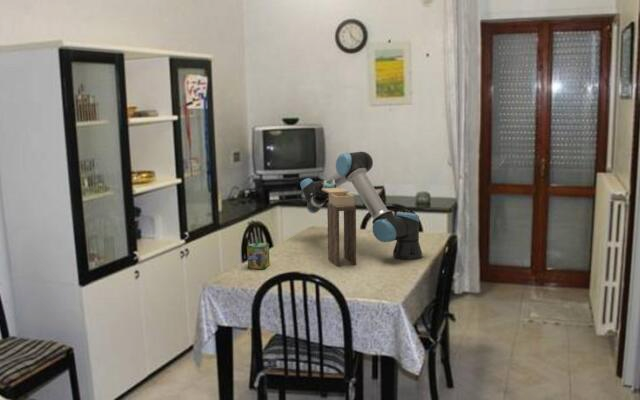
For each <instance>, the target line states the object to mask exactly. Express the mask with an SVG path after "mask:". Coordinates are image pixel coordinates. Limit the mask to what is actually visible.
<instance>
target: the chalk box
mask: <svg viewBox="0 0 640 400" xmlns="http://www.w3.org/2000/svg"><path fill="white" fill-rule="evenodd" d="M246 251H247V252H246V253H247V256H246V257H247V269H248V270H266V269H267V268H268V267H269V266H270V264H271V263H270V260H271V259H270V244H269V242H268V243H267V242H260V241H259V238H258V237H256V238H254V242H252V243H250V244H248V245H247V246H246Z"/></svg>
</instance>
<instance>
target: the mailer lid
mask: <svg viewBox="0 0 640 400" xmlns="http://www.w3.org/2000/svg"><path fill="white" fill-rule="evenodd" d="M326 184H327V185H326V187H325V188H323V189H322V191H325V192H327V193H329V194H336V193H349V190H347V189H345V188H342V187H337V188H335V186H334V185H332V184H329V183H326ZM349 194H350V193H349Z"/></svg>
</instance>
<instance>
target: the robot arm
mask: <svg viewBox="0 0 640 400" xmlns="http://www.w3.org/2000/svg"><path fill="white" fill-rule="evenodd" d="M373 165H374V160H373V158H372V156H371V155H370V154H369V153H368V152H366V151H357V152H345V153H342V154H341V153H340V154H339V155H338V157H337V159H336V160H335V170H336V172H335V173H333V174H332V175H330V176H328V177H326V178H325V179H324V180H320V181H314V180H313V179H312V178H310V177H309V178H308V177H307V178H305V179H303V180H301V181H300V184H299V185H300V188H301V191H302V193H303V196H304V197H305V201H306V203H307V205H306V209H307V211H308V212H309V213H311V214H316V213H318V212H319V211H320V210H321V209H322V206H324V204H325V202H326V201H327V198H329V193H327V192H325V191H322V189H323V188H325V187H326V185H327V184H326V183H329V184H332V185H334V186H335V188H339V187H340V186H342V185H343V184H345V183H347V182H349V183H352V185H353V187H354V189H355V190H356V192H357V194H358V195H359V197H360V199H361V200H362V202H363V203H364V205H365V207H366V209H367V210H368V213H369V214H370V215H371V218H372V234H373V236H374V237H375V238H376V240H378V241H379V242H382V243H390V242H394V241H395V244H394V248H393V251H392V257H393V258H395V259H398V260H405V261H406V260H407V261H410V260H419V259H421V258H423V251H422V248H421V245H420V241H419V240H420V218H419V215H418V214H417V213H413V212H403V211H402V212H397V213H396V215H395V214H394V213H393V210H390V209H388V208H387V206H386V205H385V203H384V202H383V200H382V199H381V197H380V195H379V193H378V192H377V190H376V188H375V187H374V185H373V183H372V182H371V179H369V177H368V176H367V173H368V172H370V171H371V169H372V168H373Z"/></svg>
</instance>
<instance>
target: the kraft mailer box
mask: <svg viewBox="0 0 640 400" xmlns="http://www.w3.org/2000/svg"><path fill="white" fill-rule="evenodd" d="M328 203H330V204H332V205H334V206H336V207H344V206H354V205H355V195H353V194H351V193H336V194H329V196H328Z"/></svg>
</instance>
